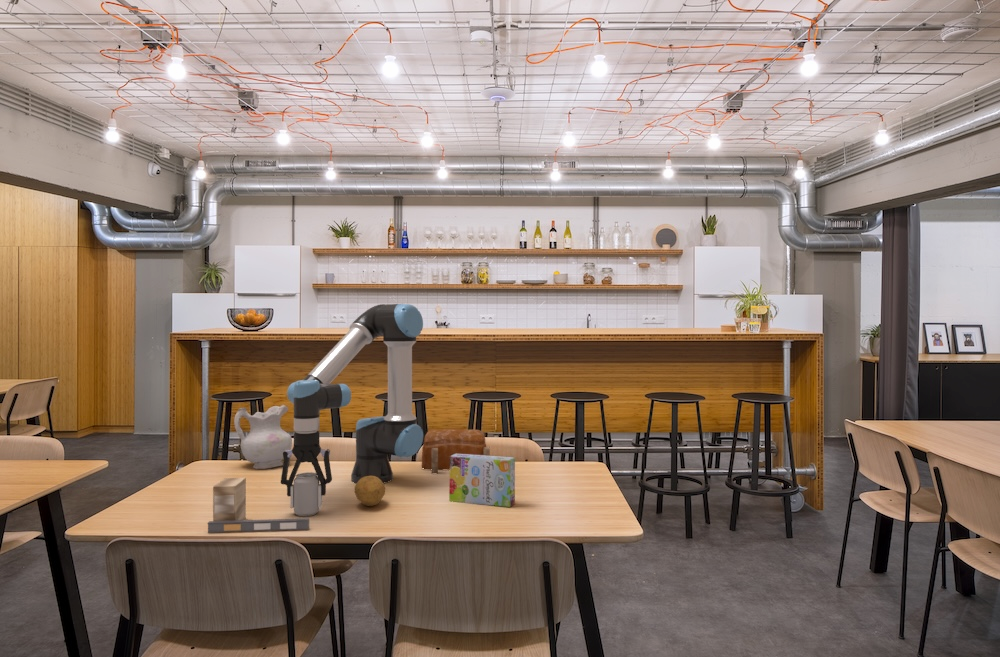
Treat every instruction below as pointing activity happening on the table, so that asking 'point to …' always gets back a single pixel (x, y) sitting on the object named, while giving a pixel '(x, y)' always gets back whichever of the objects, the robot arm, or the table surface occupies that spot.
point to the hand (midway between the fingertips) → (306, 506)
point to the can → (306, 494)
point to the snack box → (482, 479)
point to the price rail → (258, 525)
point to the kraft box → (229, 500)
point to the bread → (451, 445)
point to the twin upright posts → (435, 458)
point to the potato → (370, 490)
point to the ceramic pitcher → (264, 437)
